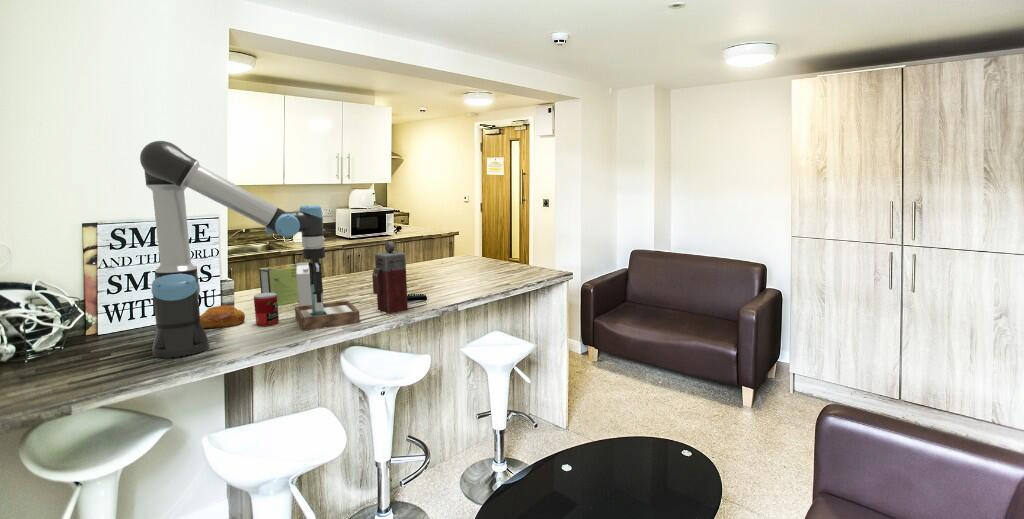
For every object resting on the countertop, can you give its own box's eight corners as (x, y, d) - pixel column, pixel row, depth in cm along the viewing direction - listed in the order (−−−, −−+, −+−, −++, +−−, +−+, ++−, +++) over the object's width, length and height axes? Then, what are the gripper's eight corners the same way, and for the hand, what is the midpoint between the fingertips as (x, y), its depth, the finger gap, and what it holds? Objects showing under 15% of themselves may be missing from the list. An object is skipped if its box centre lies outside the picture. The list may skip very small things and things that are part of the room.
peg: (314, 323, 195) (311, 286, 193) (312, 321, 198) (309, 284, 196) (325, 322, 197) (322, 285, 195) (323, 319, 200) (321, 283, 198)
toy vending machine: (372, 310, 213) (368, 242, 209) (396, 306, 220) (393, 239, 216) (383, 314, 206) (379, 243, 202) (408, 309, 214) (405, 241, 210)
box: (302, 330, 186) (301, 318, 185) (295, 318, 203) (294, 306, 202) (359, 322, 195) (359, 311, 194) (348, 311, 212) (348, 300, 212)
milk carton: (300, 306, 223) (297, 261, 220) (318, 304, 225) (315, 260, 222) (299, 310, 216) (295, 264, 213) (317, 308, 218) (314, 263, 215)
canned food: (270, 326, 191) (268, 297, 190) (251, 326, 193) (248, 296, 191) (283, 321, 199) (281, 292, 197) (264, 320, 200) (262, 292, 199)
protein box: (306, 300, 234) (304, 265, 231) (271, 306, 222) (268, 270, 220) (295, 297, 240) (293, 263, 238) (261, 303, 229) (258, 268, 227)
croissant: (241, 332, 192) (242, 311, 191) (192, 330, 188) (194, 309, 187) (248, 321, 206) (249, 301, 205) (203, 319, 201) (204, 299, 200)
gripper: (328, 249, 187) (333, 313, 190) (320, 244, 204) (324, 302, 207) (306, 251, 183) (311, 315, 187) (299, 245, 200) (303, 304, 204)
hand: (317, 308), depth 197 cm, fingers open, 6 cm apart
